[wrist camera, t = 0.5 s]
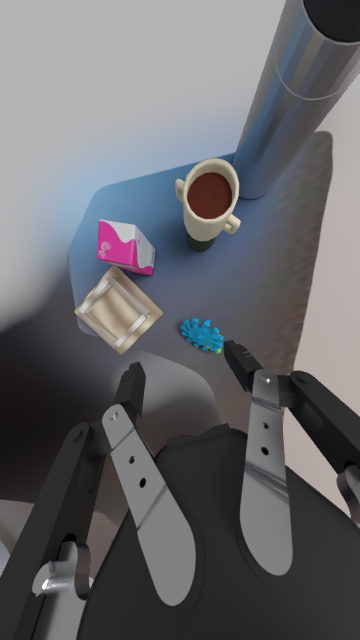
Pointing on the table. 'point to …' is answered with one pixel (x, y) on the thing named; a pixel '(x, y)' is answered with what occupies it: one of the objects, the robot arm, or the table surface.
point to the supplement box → (125, 247)
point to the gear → (202, 335)
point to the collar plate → (118, 310)
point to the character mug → (208, 201)
